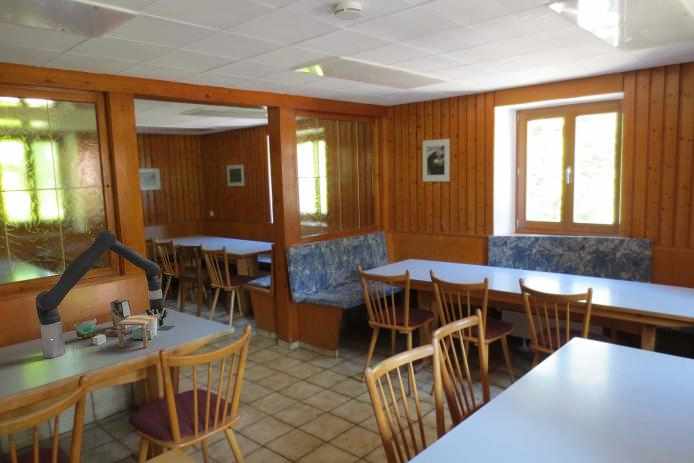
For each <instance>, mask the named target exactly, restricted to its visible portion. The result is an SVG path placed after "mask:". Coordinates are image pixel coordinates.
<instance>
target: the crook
mask: <svg viewBox="0 0 694 463" xmlns="http://www.w3.org/2000/svg"><path fill="white" fill-rule="evenodd" d="M161 327H163V326H160V323H159V318H157V329H159V328H161ZM146 330H147V329H146ZM131 334H132V339H137V340H138V339H139V340H143V336H142V328H141V325H138V326H137V327H135V328H133V329H131ZM147 339H148V340H153V339H154V337H153V336H152V330H147Z"/></svg>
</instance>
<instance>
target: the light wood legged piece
mask: <svg viewBox="0 0 694 463" xmlns="http://www.w3.org/2000/svg"><path fill="white" fill-rule="evenodd" d="M159 317H160V315H148V314H146V315H141V314H140V315H138V314H137V315H134V314H133V315H131V317H129V318H127V319H125V320H123V321H121V322H119V323H117V328H116V330H118V336H117V337H118V343H119V348H121V349H123V348H125V347H126V345H125V340H124V335H123V330H124V329H122V325H132V326H141V328H142V336H143V339H142V341H143V342H142V343H143V348H144V349H147V348H149V339H147V330H146V324H148V323H150V322H152V321H153V320H155V319H157V318H159Z"/></svg>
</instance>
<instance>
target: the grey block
mask: <svg viewBox="0 0 694 463" xmlns="http://www.w3.org/2000/svg"><path fill="white" fill-rule="evenodd" d="M91 339H92V343H93V344H92V345H95V346H100V345H102V344H104V343H107V335H105V334H98V335H96V336H95V337H92V338H91Z"/></svg>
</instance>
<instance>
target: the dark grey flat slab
mask: <svg viewBox="0 0 694 463" xmlns="http://www.w3.org/2000/svg"><path fill="white" fill-rule="evenodd" d="M174 327H175V325H163V326H162V327H160V328H158V329H157V331H169V330H171V329H172V328H174Z"/></svg>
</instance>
